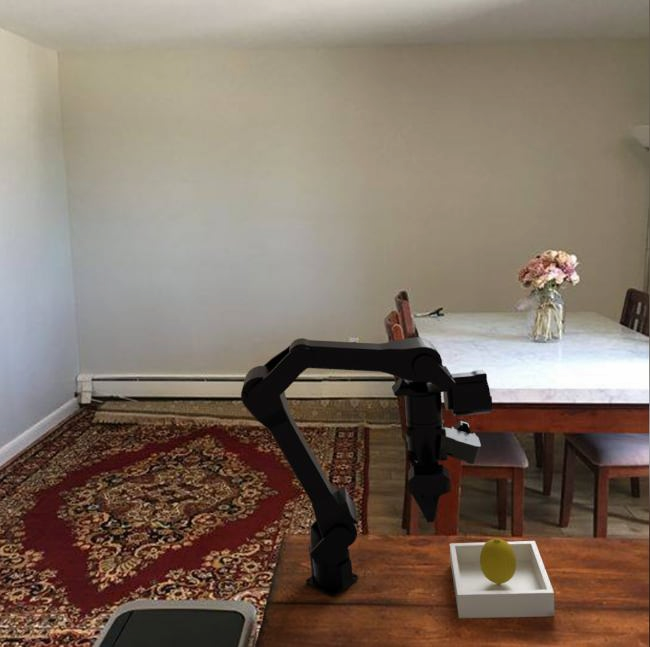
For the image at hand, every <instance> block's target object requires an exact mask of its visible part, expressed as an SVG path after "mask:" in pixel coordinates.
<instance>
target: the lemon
mask: <svg viewBox="0 0 650 647" xmlns="http://www.w3.org/2000/svg"><path fill="white" fill-rule="evenodd" d="M507 542H508V541H506V540H504V539H502V538H499V537H495V538H491V539H489V540H488V541H486V543H485V544H484V546H483V548H482V550H481V554H480V565H481V570H482V572H483V574H484V575H485V577H486V578H487V579H488V580H490V581H491V582H494V583H496V584H498V585H499V584H501V583H505V582H507V581H509V580H510V579H511V578H512V577H513V575H514V573H515V570H516V557H515V554H514V551H513V549H512V547H511V546H510V544H509V543H507Z"/></svg>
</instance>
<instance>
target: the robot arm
mask: <svg viewBox="0 0 650 647" xmlns="http://www.w3.org/2000/svg"><path fill="white" fill-rule="evenodd" d="M307 369H319V370H320V369H321V370H341V371H354V372H355V371H359V372H374V373H375V372H376V373H378V372H379V373H384V374H388V375H390V376H393V377H396V378H398V380H397V381H396V382H395V383H394V384H393V385H392V386H391V390H392V392H393V395H394V396H395V397H404V404H405V405H404V406H405V408H404V409H405V420H406V434H405V444H406V451H407V458H408V462H409V463H410V465H411V467H410V469H409V470H407V477H408V478H407V480H408V481H407V482H408V483H407V484H408V494H409V493H410V495H411V496H412V497H413V499H414V501H415V503H416V504H417V506H418V507H419V509H420V511H421V513H422V516H424V518H425V520H426V522H427V523H434V522H435V520H436V517H437V516H436V515H437V511H438V507H439V506H438V505H439V502H440V498H441V496H443V495H446V494H448V493H451V491H452V489H451V486H452V485H451V476H450V470H449V469H448V468H447V467H446V466H445V465H443V464H439V462H440V461H441V462H442V461H443V462H445V461H446V462H447V461H448V457H450V458H453V459H456V460H459V461H463V462H466V464H469V465H474V464H476V460H477V457H478V456H479V453H480V449H481V447H482V444H481V441H480V438H479V436H477V435H476V433H475V432H473V433H472V432H471V427H470V425H469V422H465V421H462V420H460V421H459V422H457V423H456V424H455V425H454V426H451V427H450V428H449V427H446V426H445V420H444V419H443V405H442V402H443V404H444V407H445V410H446V411H451V414H452V416H453V417H462V416H471V415H483V414H490V413H491V412H492V409H493V396H492V395H491V390H490V387H489V382H488V375H487V373H486V372H485V371H484V370H483V369H477V370H473V371H469V372H459V373H458V372H457V373H451V372H450V370H449V369H448V367H447V366H446V365H443V359H442V357H441V355H440V353H439V351H438V350H437V348H436V347H435V346H434V344H433V343H432V342H431V341H430V340H429V339H427V338H426V337H421V336H420V337H419V336H418V337H417V336H416V337H407V338H400V339H399V338H398V339H395V340H391V341H388V342H381V343H374V342H373V343H372V342H371V343H370V342H351V341H350V342H349V341H333V340H314V339H307V338H304V337H302V338H297V339H294V340H293V341H292V342H291V343H290V344H289V345H288V346H287V347H286V348H284V349H283V350H281V351H280V352H278V353H277V354H275V355H274V356H273V357H271V358H270V359H269V360H267V362H266V363H265V364H264V365H257V366H255V367H254V366H253V367H252V368H250V370H249V371H248V372H247V374H246V375H245V378H244V381H243V383H242V384H243V385H242V388H241V393H240V399H241V401H242V404H243V406H244V407H245V408H246V410H247V411H248V412H249V413H250V415H251V416H253V418H254V419H255V421H257V422H258V423H259V424H261V425H262V426H263V427H264V428H266V429H267V430H268V431H269V433H270V434H271V436H272V437H273V440H275V442H276V444H277V446H278V447H279V449H280V451H281V452H282V454H283V456H284V458H285V459H286V461H287V463H288V465H289V467H290V469H291V470H292V471H293V473H294V475H295V477H296V478H297V480H298V483H299V484H300V486H301V487H302V490H304V492H305V494H306V496H307V497H308V499H309V501H310V503H311V505H312V510H313V514H314V517H315V521H313V523H312V524H311V525H310V527H309V537H310V539H309V540H310V542H309V543H310V544H309V545H310V546H309V547H308V551H309V560H310V567H311V576H310V577H309V578H307V579H306V580H305V584H306V585H308V586H309V587H311V588H312V589H315V590H317V591H319V592H321V593H323V594H325V595H327V596H329V597H336V596H337V595H339V594H340V593H341V592H342V591H345V589H347V588H348V587H349V586H351V585H352V584H353V583H354V582H356V581H357V580H359V577H358V576H359V575H357V574H356V573H354V572H353V568H352V566H353V565H352V560H351V558H350V549H349V547H350V546H352V545H353V544H354V543H355V542H356V540H357V538H358V537H357V536H358V527H357V525H359V519H358V511H357V505H356V504H357V503H356V502H355V501H354V500H352V498H351V497H350V496H349V494H348V489H347V487H346V485H343V486H342V487H340V488H339V489H337V488H336V487H335V486H334V485H333V484H332V483H331V482H330V480H329V478H328V477H327V475H326V474H325V471H324V470H323V468H322V467H321V464H320V463H319V462H318V460H317V458H316V456H315V454H314V453H313V450H312V449H311V447H310V445H309V443H308V442H307V439H306V438H305V436H304V435H303V432H302V431H301V429H300V428H299V425H298V424H297V422H296V421H295V419H294V417H293V415H292V413H291V410H290V406H289V404H288V400H287V397H286V392H285V391H286V390H287V389H288V388H289V387H291V385H292V384H293V383H294V382H295V381H296V380H297V379H298V377H299V376H301V374H302V373H304V372H305V371H306V370H307ZM442 395H443V400H442Z"/></svg>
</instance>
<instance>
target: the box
mask: <svg viewBox="0 0 650 647" xmlns="http://www.w3.org/2000/svg"><path fill="white" fill-rule="evenodd" d="M486 542H487V541H486ZM486 542H457V543H456V542H454V543H449V552H450V553H449V554H450V556H449V557H450V567H451V575H452V580H453V588H454V595H455V602H456V608H457V615H458V616H457V617H458V619H479V618H480V619H482V618H483V619H485V618H487V619H489V618H530V617H531V618H535V617H537V618H539V617H545V618H546V617H547V618H548V617H555V592H554V588H553V586H552V583H551V581H550V578H549V576H548V573H547V571H546V567H545V565H544V563H543V562H544V561H543V560H542V557H541V554H540V551H539V548H538V546H537V543H536V541H535V540H523V541H521V540H520V541H506V542H507V543H509V544H510V546H511V547H512V549H513V551H514V554H515V557H516V570H515V573H514V575H513V577H512V578H511V579H510V580H509V581H507V582H505V583H501V584H499V585H498V584H496V583H494V582H491V581H490V580H488V579H487V578H486V577H485V575H484V574H483V572H482V570H481V565H480V554H481V550H482V548H483V546H484V544H485V543H486Z"/></svg>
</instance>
